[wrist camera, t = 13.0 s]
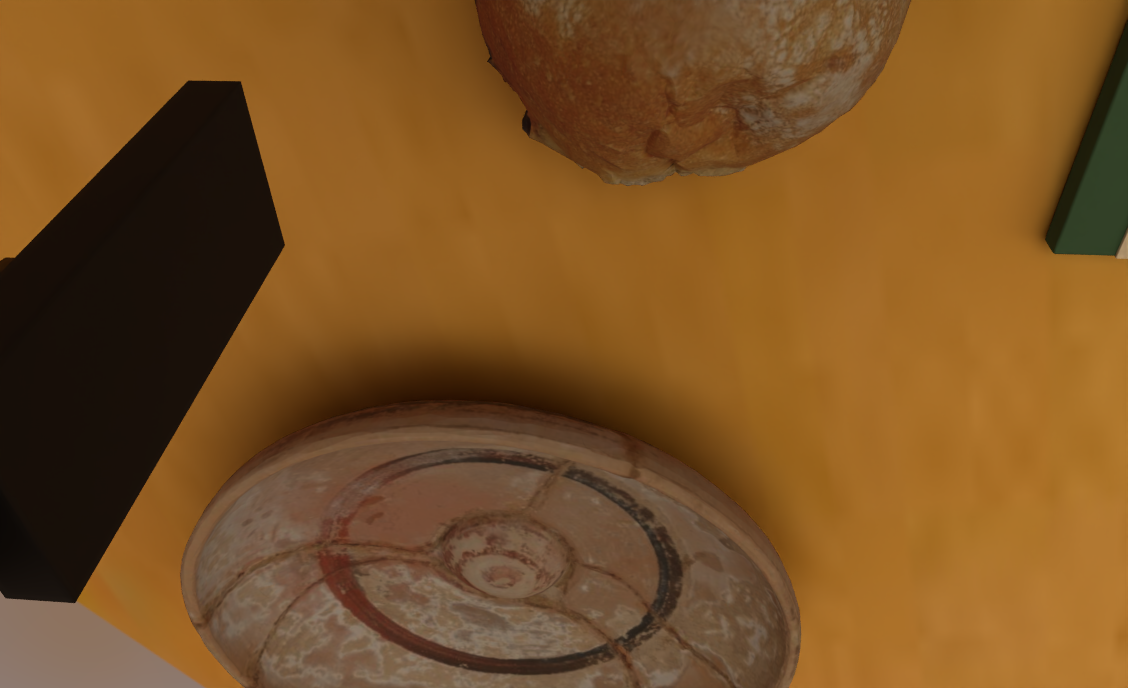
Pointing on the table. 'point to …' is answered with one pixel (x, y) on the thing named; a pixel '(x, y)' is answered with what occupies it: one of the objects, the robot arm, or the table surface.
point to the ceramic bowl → (484, 560)
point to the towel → (1099, 175)
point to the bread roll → (685, 76)
